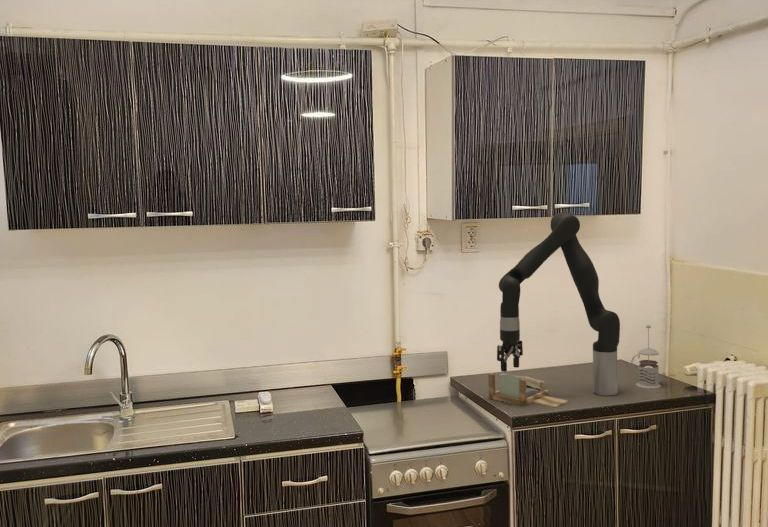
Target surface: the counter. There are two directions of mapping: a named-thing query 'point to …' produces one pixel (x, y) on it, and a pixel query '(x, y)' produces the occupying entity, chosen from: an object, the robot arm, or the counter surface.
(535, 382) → the birch offcut
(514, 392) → the sage board
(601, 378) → the robot arm
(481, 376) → the counter surface
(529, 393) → the stone block
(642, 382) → the french press
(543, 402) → the slatted wooden panel
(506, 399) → the oak rack
